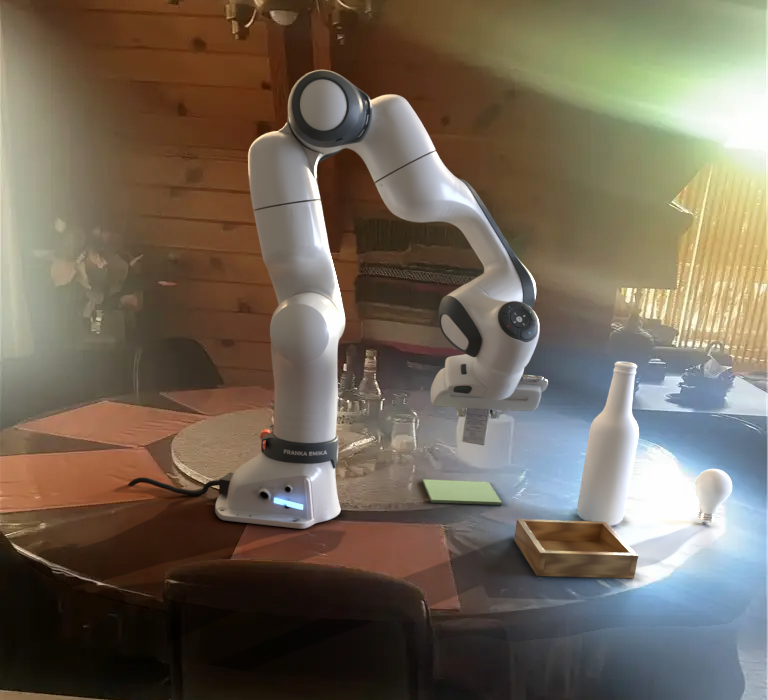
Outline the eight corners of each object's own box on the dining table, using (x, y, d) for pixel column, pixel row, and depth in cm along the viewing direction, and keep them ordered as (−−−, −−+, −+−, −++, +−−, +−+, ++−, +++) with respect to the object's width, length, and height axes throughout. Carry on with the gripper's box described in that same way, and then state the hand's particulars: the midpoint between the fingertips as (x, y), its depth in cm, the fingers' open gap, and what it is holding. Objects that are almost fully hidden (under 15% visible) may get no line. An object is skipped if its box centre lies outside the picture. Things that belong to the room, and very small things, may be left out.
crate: (536, 576, 119) (540, 552, 117) (514, 539, 132) (516, 518, 131) (634, 578, 120) (638, 555, 119) (602, 542, 134) (605, 521, 132)
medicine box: (484, 446, 143) (492, 401, 141) (461, 442, 144) (468, 398, 141) (485, 436, 151) (493, 393, 148) (463, 432, 151) (470, 390, 149)
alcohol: (590, 506, 151) (615, 357, 142) (631, 519, 146) (659, 365, 137) (567, 515, 145) (592, 360, 136) (609, 530, 140) (638, 369, 130)
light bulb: (729, 525, 147) (742, 472, 143) (712, 532, 142) (725, 477, 139) (697, 514, 151) (709, 462, 148) (680, 520, 147) (691, 467, 144)
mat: (431, 502, 147) (431, 499, 146) (422, 481, 158) (422, 479, 158) (501, 505, 148) (502, 502, 148) (488, 484, 160) (488, 481, 159)
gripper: (549, 363, 137) (527, 403, 149) (437, 356, 134) (425, 397, 147) (553, 392, 134) (530, 431, 146) (439, 386, 131) (426, 426, 144)
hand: (476, 414), depth 146 cm, fingers closed on medicine box, 5 cm apart
